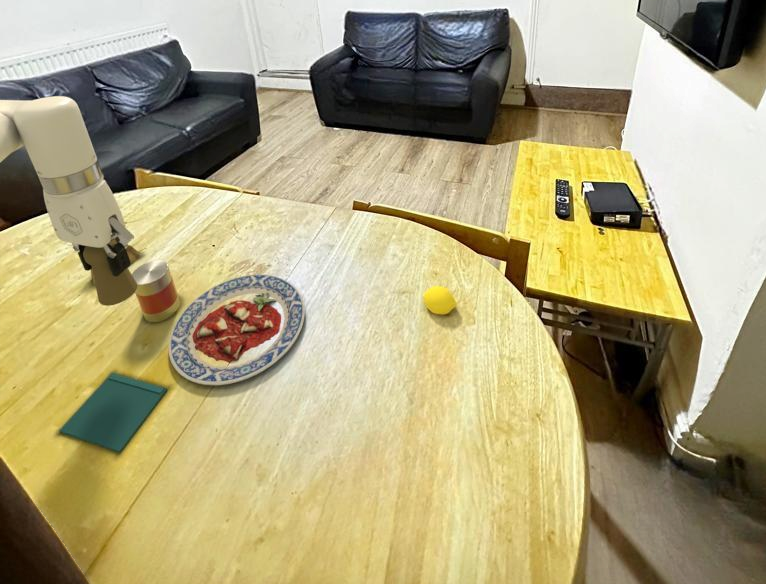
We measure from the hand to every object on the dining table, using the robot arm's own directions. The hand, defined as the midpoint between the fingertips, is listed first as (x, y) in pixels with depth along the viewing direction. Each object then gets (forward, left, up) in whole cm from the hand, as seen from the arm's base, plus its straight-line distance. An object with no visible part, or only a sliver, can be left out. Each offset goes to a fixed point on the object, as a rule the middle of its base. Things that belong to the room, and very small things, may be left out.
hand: (108, 266), depth 71 cm
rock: (-23, +17, -21) cm, 35 cm away
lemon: (+54, +23, -21) cm, 62 cm away
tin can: (-3, +9, -21) cm, 23 cm away
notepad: (+5, -11, -21) cm, 24 cm away
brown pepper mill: (0, 0, -6) cm, 6 cm away
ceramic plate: (+16, +9, -21) cm, 28 cm away
